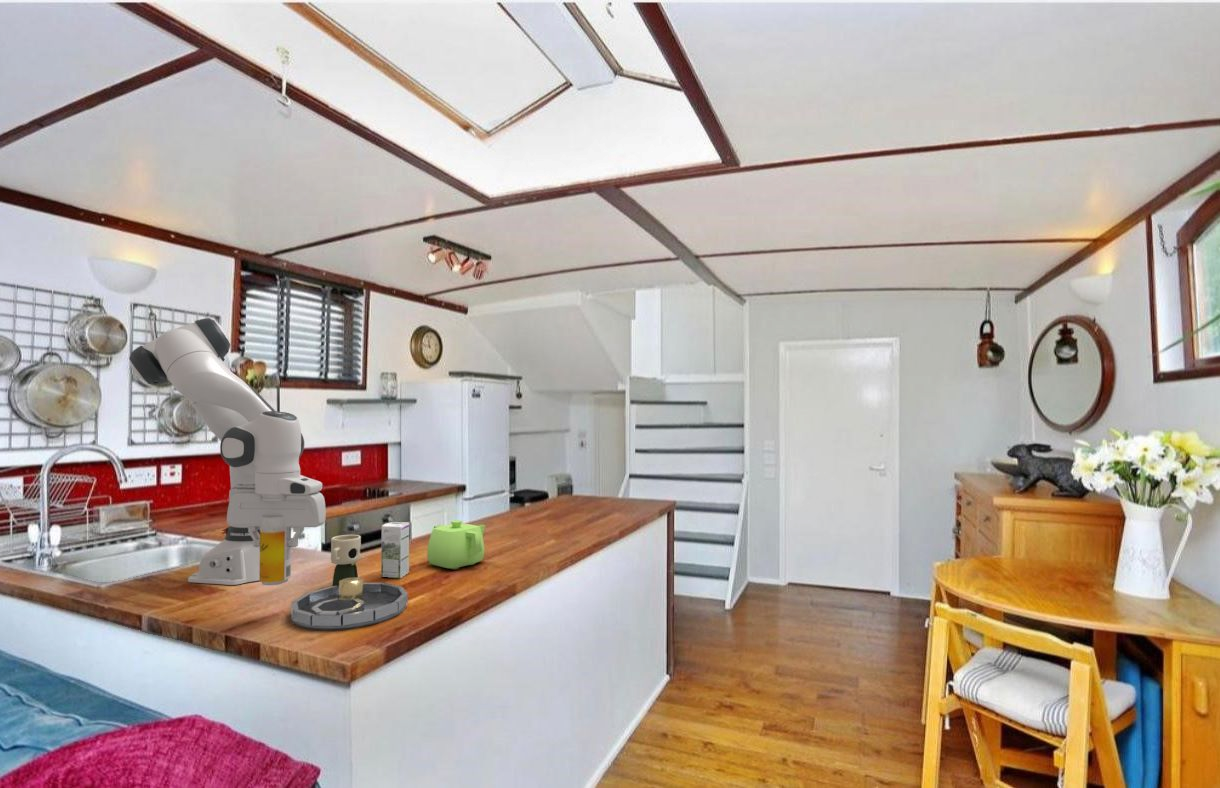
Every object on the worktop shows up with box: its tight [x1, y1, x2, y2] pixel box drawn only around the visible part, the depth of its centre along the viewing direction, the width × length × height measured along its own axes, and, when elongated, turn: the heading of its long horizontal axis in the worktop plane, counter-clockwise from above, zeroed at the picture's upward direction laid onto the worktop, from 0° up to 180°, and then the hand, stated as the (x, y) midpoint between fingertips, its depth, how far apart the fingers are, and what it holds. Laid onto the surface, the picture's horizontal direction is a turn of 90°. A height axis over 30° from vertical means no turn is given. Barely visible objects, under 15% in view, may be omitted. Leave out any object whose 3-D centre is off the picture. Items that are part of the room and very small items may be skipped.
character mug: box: [330, 534, 362, 586], centre depth 156 cm, size 11×7×13 cm, turn 174°
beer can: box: [258, 516, 292, 586], centre depth 133 cm, size 6×6×15 cm
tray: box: [290, 576, 409, 631], centre depth 138 cm, size 24×24×7 cm
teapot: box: [426, 519, 486, 570], centre depth 181 cm, size 18×20×13 cm
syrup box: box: [380, 521, 410, 579], centre depth 167 cm, size 6×6×14 cm
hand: (275, 546), depth 134 cm, fingers open, 6 cm apart
